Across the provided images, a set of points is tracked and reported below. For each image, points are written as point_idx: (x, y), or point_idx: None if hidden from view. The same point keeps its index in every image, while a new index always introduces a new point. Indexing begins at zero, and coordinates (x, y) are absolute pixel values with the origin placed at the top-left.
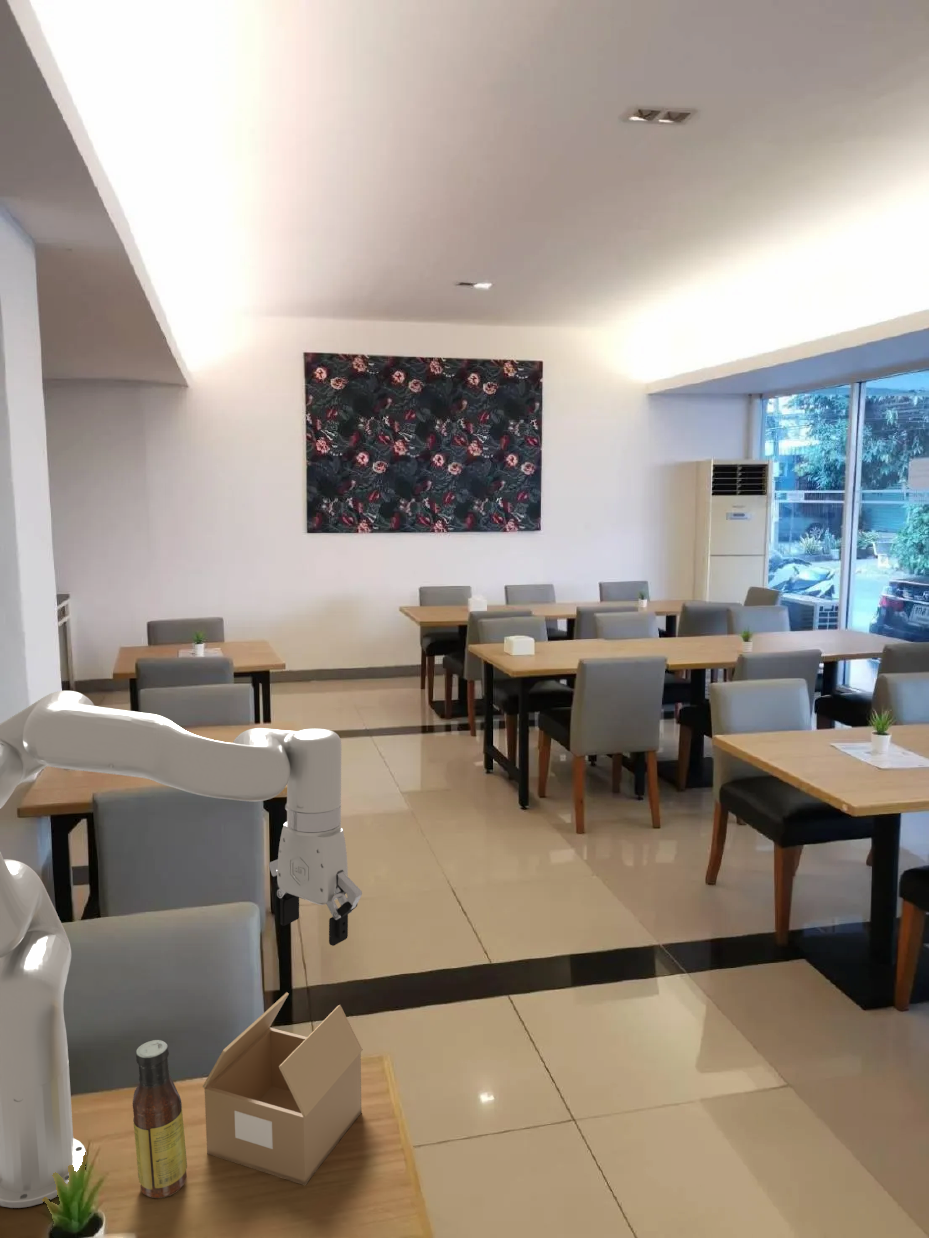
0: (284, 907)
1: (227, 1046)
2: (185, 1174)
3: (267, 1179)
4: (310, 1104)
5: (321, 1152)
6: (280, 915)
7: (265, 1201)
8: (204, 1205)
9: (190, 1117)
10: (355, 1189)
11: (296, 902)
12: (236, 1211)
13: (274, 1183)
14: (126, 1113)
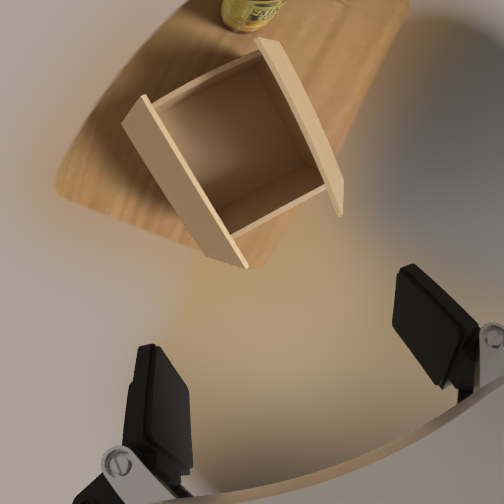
0: (442, 315)
1: (263, 47)
2: (229, 26)
3: None
4: (131, 137)
5: None
6: (433, 281)
7: (150, 80)
8: (187, 32)
9: (319, 78)
10: (110, 161)
11: (426, 360)
12: (158, 53)
13: None
14: (363, 44)
